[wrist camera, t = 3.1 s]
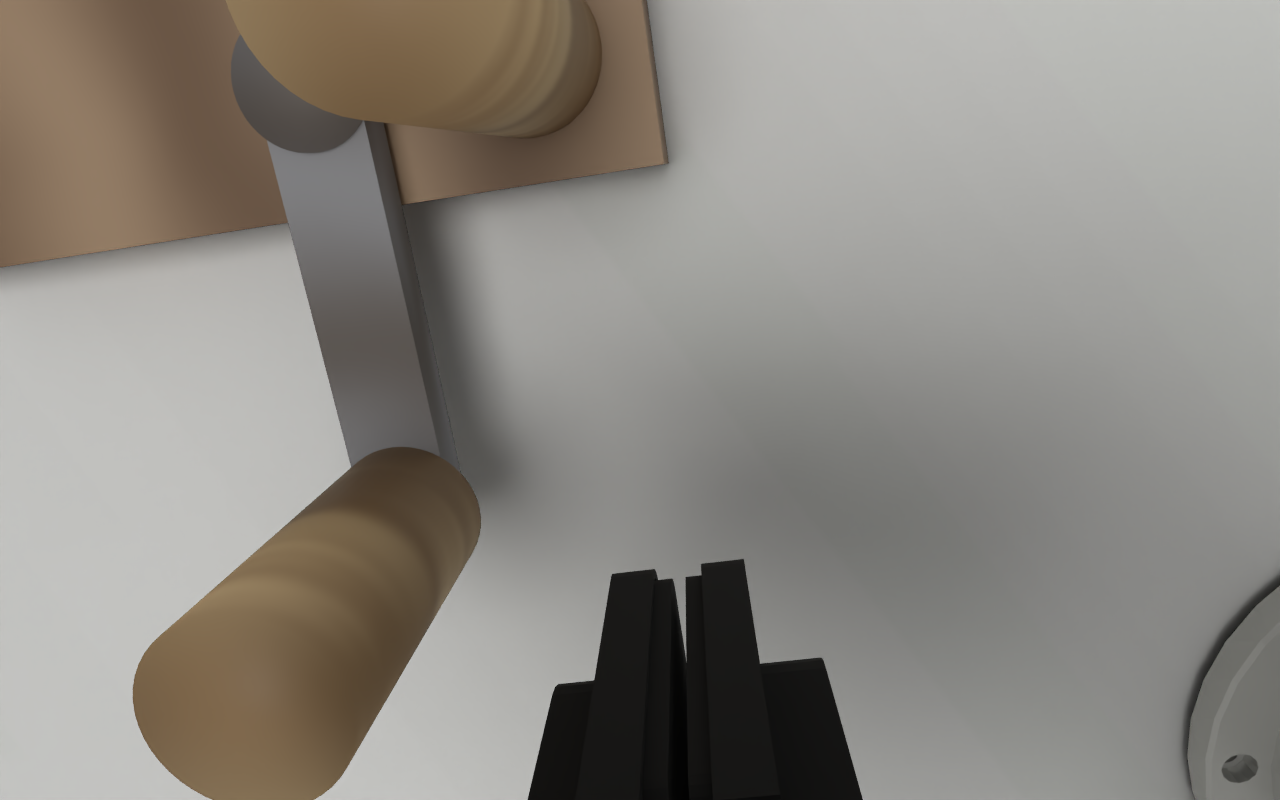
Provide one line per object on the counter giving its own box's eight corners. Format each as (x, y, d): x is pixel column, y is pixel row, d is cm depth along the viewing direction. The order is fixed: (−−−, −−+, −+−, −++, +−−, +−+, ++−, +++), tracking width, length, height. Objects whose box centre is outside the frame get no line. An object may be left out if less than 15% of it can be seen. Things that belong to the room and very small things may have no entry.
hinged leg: (233, 30, 16) (-154, -77, 9) (387, 2, 16) (115, -134, 9) (373, 567, 20) (172, 818, 12) (504, 553, 19) (379, 802, 12)
